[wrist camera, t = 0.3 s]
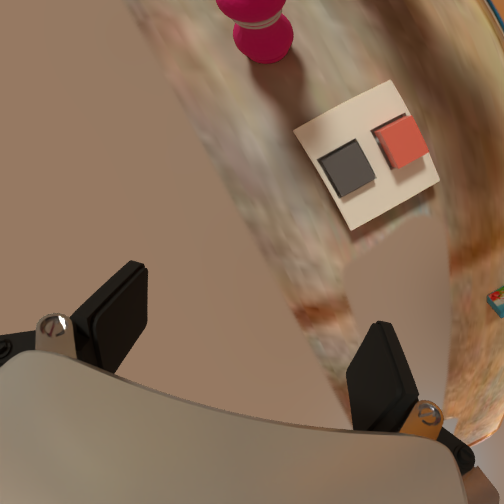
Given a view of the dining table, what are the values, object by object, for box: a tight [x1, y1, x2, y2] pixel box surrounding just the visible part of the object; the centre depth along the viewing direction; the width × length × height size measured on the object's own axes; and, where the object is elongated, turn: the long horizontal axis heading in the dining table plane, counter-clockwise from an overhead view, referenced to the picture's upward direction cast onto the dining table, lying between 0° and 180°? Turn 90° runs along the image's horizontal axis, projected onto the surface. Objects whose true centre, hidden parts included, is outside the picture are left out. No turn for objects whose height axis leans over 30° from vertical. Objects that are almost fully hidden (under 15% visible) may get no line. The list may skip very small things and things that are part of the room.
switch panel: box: [293, 80, 440, 231], centre depth 34 cm, size 15×15×3 cm
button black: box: [320, 142, 375, 197], centre depth 33 cm, size 5×5×2 cm
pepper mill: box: [216, 0, 294, 64], centre depth 22 cm, size 7×7×20 cm
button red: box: [375, 115, 429, 169], centre depth 30 cm, size 5×5×2 cm
